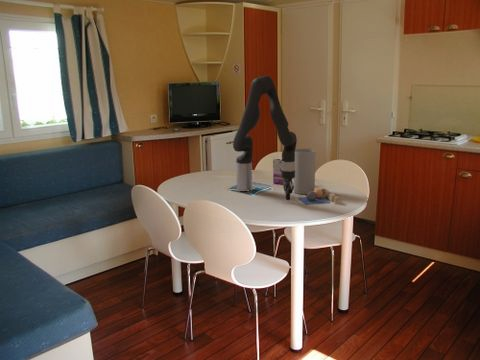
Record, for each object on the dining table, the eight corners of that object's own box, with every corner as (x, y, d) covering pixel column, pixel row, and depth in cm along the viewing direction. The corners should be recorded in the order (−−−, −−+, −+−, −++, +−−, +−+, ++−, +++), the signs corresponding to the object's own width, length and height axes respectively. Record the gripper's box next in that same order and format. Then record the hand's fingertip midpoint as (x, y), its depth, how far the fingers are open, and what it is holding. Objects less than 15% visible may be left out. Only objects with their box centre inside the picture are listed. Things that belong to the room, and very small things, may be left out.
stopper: (320, 194, 266) (321, 188, 265) (324, 194, 266) (324, 188, 265) (335, 204, 247) (335, 197, 246) (338, 203, 247) (338, 197, 246)
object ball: (314, 200, 260) (309, 192, 259) (322, 195, 261) (317, 186, 261) (318, 200, 254) (313, 192, 254) (326, 194, 255) (321, 186, 255)
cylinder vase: (317, 190, 274) (318, 149, 268) (309, 195, 263) (310, 153, 257) (298, 188, 280) (298, 148, 274) (289, 193, 270) (290, 151, 264)
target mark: (297, 197, 260) (297, 197, 260) (320, 196, 263) (320, 195, 263) (306, 204, 246) (306, 204, 246) (330, 202, 249) (330, 202, 249)
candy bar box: (291, 182, 293) (291, 157, 289) (290, 184, 289) (290, 159, 285) (274, 182, 296) (274, 157, 292) (273, 184, 291) (273, 158, 287)
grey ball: (309, 200, 257) (302, 195, 255) (315, 192, 256) (309, 187, 254) (313, 204, 252) (306, 199, 250) (320, 196, 251) (313, 191, 249)
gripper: (277, 167, 252) (277, 197, 257) (285, 172, 240) (285, 203, 244) (290, 166, 254) (290, 196, 258) (299, 171, 241) (298, 202, 246)
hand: (287, 199), depth 251 cm, fingers closed
